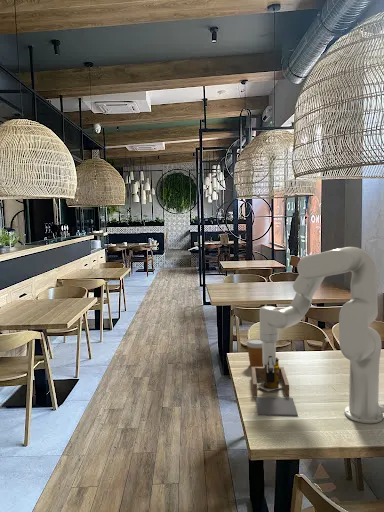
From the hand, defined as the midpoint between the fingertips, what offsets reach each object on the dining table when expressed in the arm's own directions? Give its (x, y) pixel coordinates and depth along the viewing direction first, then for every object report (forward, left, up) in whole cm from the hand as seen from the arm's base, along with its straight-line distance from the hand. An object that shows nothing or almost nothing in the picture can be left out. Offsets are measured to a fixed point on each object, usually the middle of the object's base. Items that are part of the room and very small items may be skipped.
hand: (269, 378), depth 172 cm
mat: (-1, +18, -4) cm, 18 cm away
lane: (0, 0, -4) cm, 4 cm away
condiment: (0, 0, -3) cm, 4 cm away
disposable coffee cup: (+4, -26, -4) cm, 27 cm away
